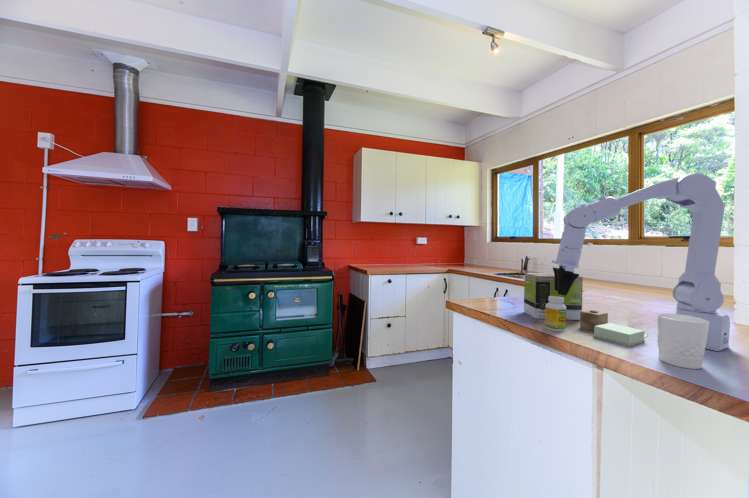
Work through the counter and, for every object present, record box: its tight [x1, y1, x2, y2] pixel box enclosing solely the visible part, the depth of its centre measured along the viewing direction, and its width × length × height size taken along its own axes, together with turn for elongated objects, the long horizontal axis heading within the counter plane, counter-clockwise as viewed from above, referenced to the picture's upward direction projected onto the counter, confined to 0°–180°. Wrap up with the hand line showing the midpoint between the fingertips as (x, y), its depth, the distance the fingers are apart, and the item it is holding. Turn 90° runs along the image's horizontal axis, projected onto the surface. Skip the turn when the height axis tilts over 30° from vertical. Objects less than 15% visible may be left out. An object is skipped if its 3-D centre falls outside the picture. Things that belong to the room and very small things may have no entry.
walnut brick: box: [579, 309, 609, 332], centre depth 91 cm, size 5×5×5 cm
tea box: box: [523, 272, 584, 321], centre depth 105 cm, size 15×10×15 cm
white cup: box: [657, 312, 709, 370], centre depth 67 cm, size 8×8×10 cm
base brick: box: [592, 322, 646, 347], centre depth 82 cm, size 8×8×3 cm
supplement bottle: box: [544, 296, 567, 332], centre depth 90 cm, size 5×5×10 cm
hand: (560, 292), depth 92 cm, fingers open, 7 cm apart
